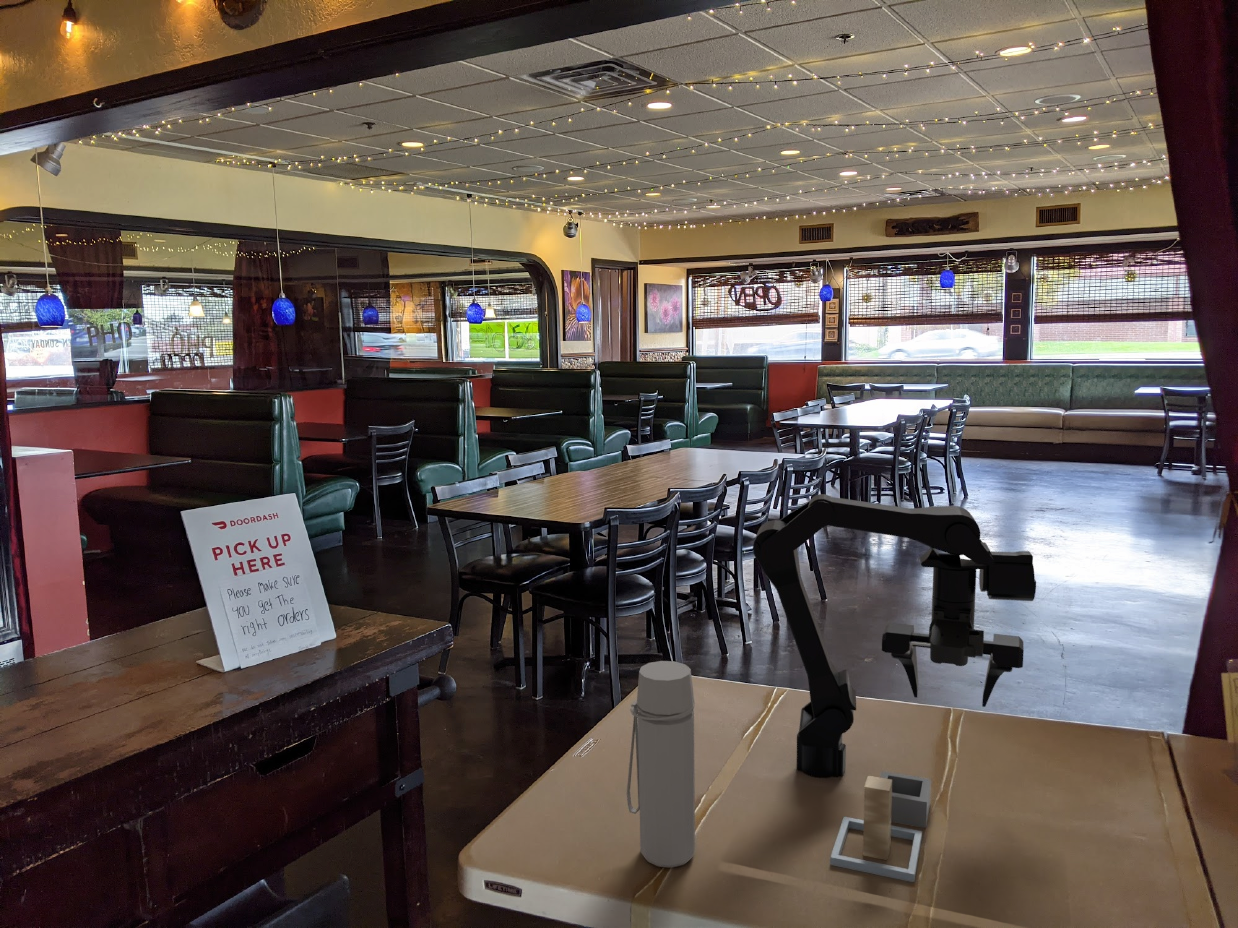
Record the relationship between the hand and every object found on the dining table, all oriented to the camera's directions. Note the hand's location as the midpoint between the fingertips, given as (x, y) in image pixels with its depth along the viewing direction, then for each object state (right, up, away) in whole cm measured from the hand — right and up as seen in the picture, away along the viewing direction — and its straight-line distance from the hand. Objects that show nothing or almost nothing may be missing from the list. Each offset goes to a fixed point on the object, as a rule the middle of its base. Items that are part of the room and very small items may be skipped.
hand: (949, 701), depth 133 cm
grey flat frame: (-15, -16, -15) cm, 26 cm away
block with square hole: (-9, -14, -6) cm, 18 cm away
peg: (-15, -15, -15) cm, 26 cm away
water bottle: (-42, -17, -13) cm, 47 cm away
